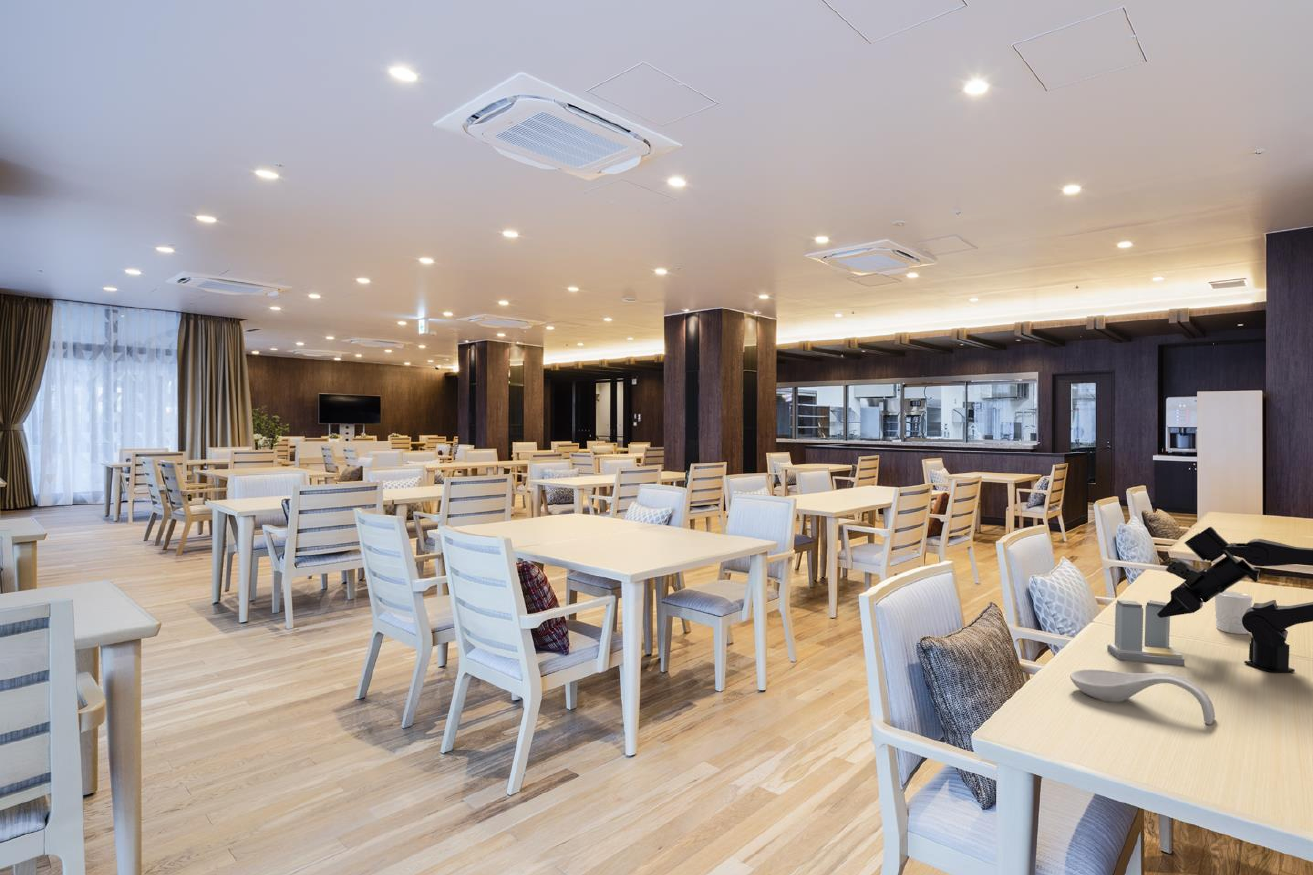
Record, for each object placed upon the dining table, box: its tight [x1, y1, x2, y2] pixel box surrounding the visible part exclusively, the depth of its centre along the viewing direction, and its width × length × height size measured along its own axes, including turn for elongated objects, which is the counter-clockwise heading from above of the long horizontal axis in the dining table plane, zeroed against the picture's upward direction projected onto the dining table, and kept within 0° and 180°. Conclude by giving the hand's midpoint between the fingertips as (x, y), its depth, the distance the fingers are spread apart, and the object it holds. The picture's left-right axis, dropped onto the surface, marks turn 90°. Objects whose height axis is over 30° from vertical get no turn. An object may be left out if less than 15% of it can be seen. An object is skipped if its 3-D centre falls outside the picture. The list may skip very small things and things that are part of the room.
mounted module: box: [1114, 599, 1144, 651], centre depth 168 cm, size 4×4×11 cm
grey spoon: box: [1069, 669, 1216, 726], centre depth 139 cm, size 24×12×7 cm, turn 46°
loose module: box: [1144, 599, 1171, 649], centre depth 177 cm, size 4×4×11 cm
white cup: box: [1214, 590, 1253, 635], centre depth 192 cm, size 8×8×10 cm
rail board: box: [1106, 643, 1185, 666], centre depth 167 cm, size 14×7×2 cm, turn 76°
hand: (1162, 612), depth 176 cm, fingers open, 9 cm apart
